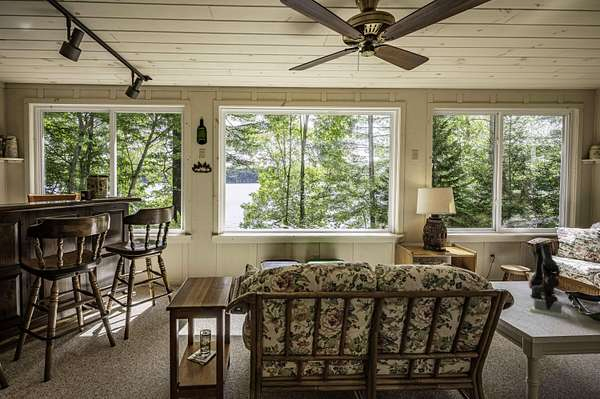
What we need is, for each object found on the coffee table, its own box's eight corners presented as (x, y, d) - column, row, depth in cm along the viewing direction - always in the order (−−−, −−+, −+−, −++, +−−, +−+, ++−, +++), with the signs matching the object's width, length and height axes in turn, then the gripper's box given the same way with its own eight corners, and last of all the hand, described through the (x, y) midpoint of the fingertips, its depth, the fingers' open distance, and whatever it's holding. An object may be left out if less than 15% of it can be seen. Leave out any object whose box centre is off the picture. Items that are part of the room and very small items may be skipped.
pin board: (528, 306, 207) (528, 300, 207) (563, 312, 198) (564, 305, 198) (530, 311, 199) (530, 304, 199) (567, 318, 190) (567, 310, 190)
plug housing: (533, 306, 204) (533, 298, 204) (559, 310, 198) (559, 302, 197) (534, 308, 199) (535, 300, 199) (561, 313, 193) (561, 304, 193)
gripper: (530, 277, 210) (528, 300, 210) (535, 284, 193) (533, 310, 194) (551, 279, 204) (550, 303, 205) (558, 287, 188) (556, 314, 189)
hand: (547, 307), depth 198 cm, fingers closed on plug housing, 5 cm apart
